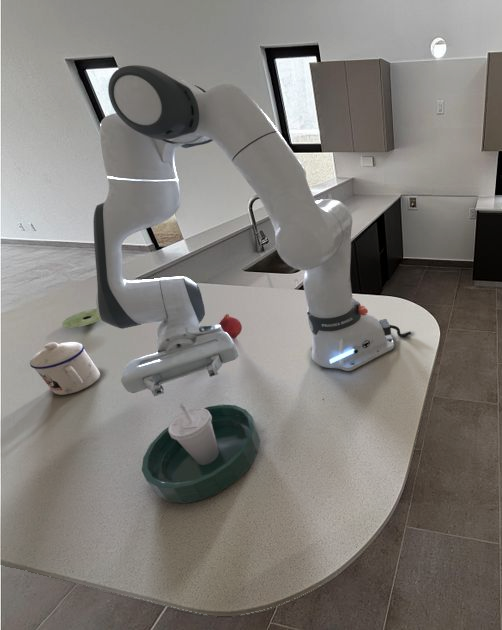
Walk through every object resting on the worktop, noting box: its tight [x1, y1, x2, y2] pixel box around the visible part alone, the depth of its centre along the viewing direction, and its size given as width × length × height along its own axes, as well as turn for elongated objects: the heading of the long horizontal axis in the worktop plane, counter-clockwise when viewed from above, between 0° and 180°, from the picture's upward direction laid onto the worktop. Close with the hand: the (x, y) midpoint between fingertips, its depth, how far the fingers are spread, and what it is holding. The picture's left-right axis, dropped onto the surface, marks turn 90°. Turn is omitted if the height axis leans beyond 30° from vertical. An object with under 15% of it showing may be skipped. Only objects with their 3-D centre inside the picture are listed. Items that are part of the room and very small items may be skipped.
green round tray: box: [141, 404, 261, 504], centre depth 62 cm, size 18×18×5 cm
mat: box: [61, 308, 102, 329], centre depth 103 cm, size 11×11×2 cm
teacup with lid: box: [29, 341, 101, 396], centre depth 77 cm, size 12×9×12 cm
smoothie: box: [167, 403, 219, 465], centre depth 59 cm, size 6×6×14 cm
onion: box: [218, 313, 243, 340], centre depth 94 cm, size 6×6×8 cm
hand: (186, 382), depth 65 cm, fingers open, 8 cm apart
